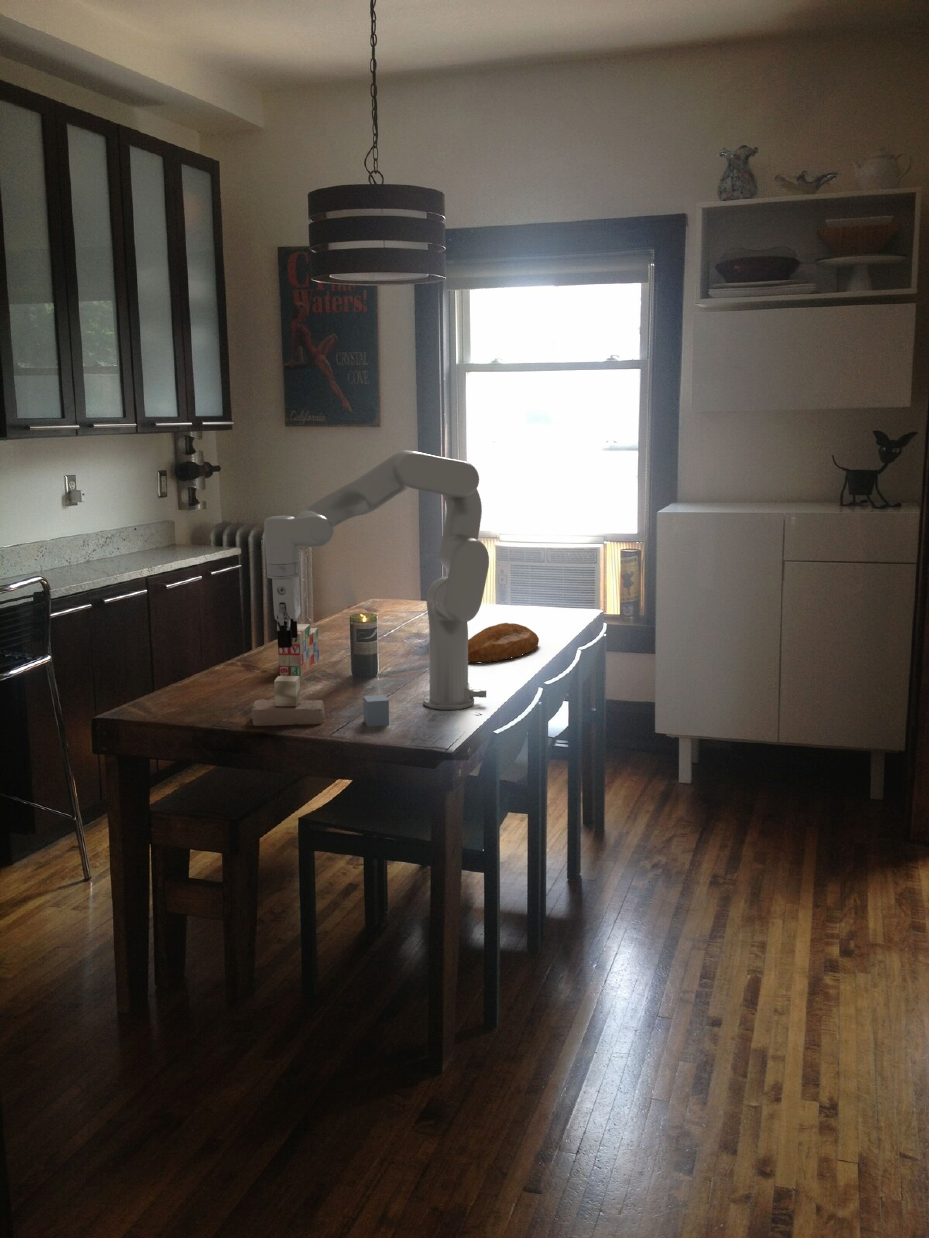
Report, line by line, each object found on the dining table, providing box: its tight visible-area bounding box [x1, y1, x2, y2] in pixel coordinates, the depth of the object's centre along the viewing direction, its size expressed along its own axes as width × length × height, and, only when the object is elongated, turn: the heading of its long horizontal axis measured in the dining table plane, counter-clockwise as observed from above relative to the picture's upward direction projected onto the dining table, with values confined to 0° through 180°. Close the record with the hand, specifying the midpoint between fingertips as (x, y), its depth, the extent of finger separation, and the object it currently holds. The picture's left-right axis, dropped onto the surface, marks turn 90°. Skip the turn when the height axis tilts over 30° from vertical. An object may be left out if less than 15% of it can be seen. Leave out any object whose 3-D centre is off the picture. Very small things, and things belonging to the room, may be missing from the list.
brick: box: [251, 699, 326, 727], centre depth 259 cm, size 17×8×5 cm, turn 96°
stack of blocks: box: [277, 623, 320, 677], centre depth 309 cm, size 21×6×12 cm, turn 174°
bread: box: [468, 622, 540, 664], centre depth 327 cm, size 18×35×9 cm, turn 144°
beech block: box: [273, 675, 301, 706], centre depth 258 cm, size 5×5×6 cm
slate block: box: [362, 694, 390, 728], centre depth 256 cm, size 5×5×6 cm
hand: (288, 642), depth 256 cm, fingers open, 9 cm apart
